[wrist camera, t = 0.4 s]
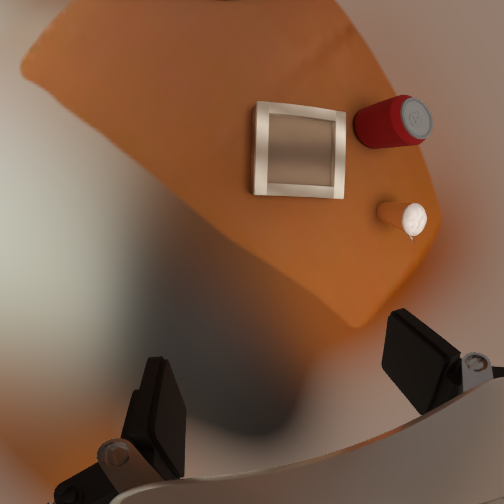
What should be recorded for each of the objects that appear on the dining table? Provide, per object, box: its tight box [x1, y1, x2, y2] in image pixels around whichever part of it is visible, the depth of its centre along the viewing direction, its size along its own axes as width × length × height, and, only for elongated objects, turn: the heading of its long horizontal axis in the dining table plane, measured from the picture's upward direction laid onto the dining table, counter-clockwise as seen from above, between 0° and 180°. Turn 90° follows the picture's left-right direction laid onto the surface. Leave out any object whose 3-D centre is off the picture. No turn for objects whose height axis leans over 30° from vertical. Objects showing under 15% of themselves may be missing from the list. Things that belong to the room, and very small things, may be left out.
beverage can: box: [355, 95, 433, 149], centre depth 32 cm, size 7×7×12 cm
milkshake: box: [376, 202, 427, 243], centre depth 37 cm, size 4×5×10 cm
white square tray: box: [250, 101, 346, 199], centre depth 35 cm, size 12×12×4 cm
